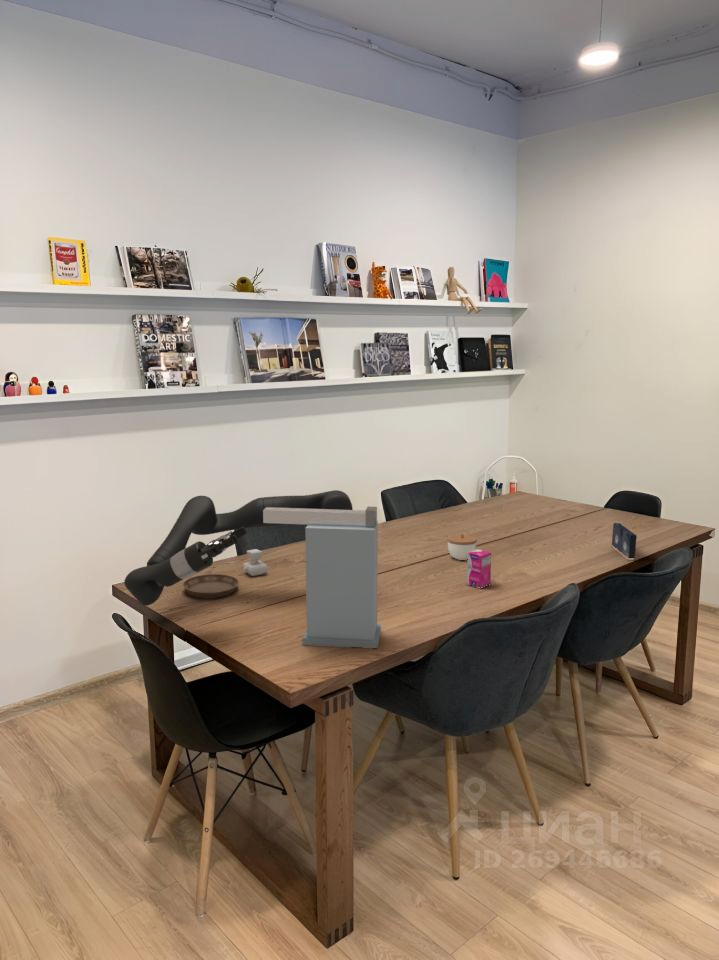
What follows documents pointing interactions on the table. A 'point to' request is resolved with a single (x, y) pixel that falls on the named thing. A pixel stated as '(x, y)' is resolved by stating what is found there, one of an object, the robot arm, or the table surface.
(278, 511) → the shaft
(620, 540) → the vhs cassette tape
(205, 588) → the plant saucer
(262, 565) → the stamp
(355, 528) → the stand
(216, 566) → the table surface
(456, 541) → the lidded jar
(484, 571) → the supplement box
